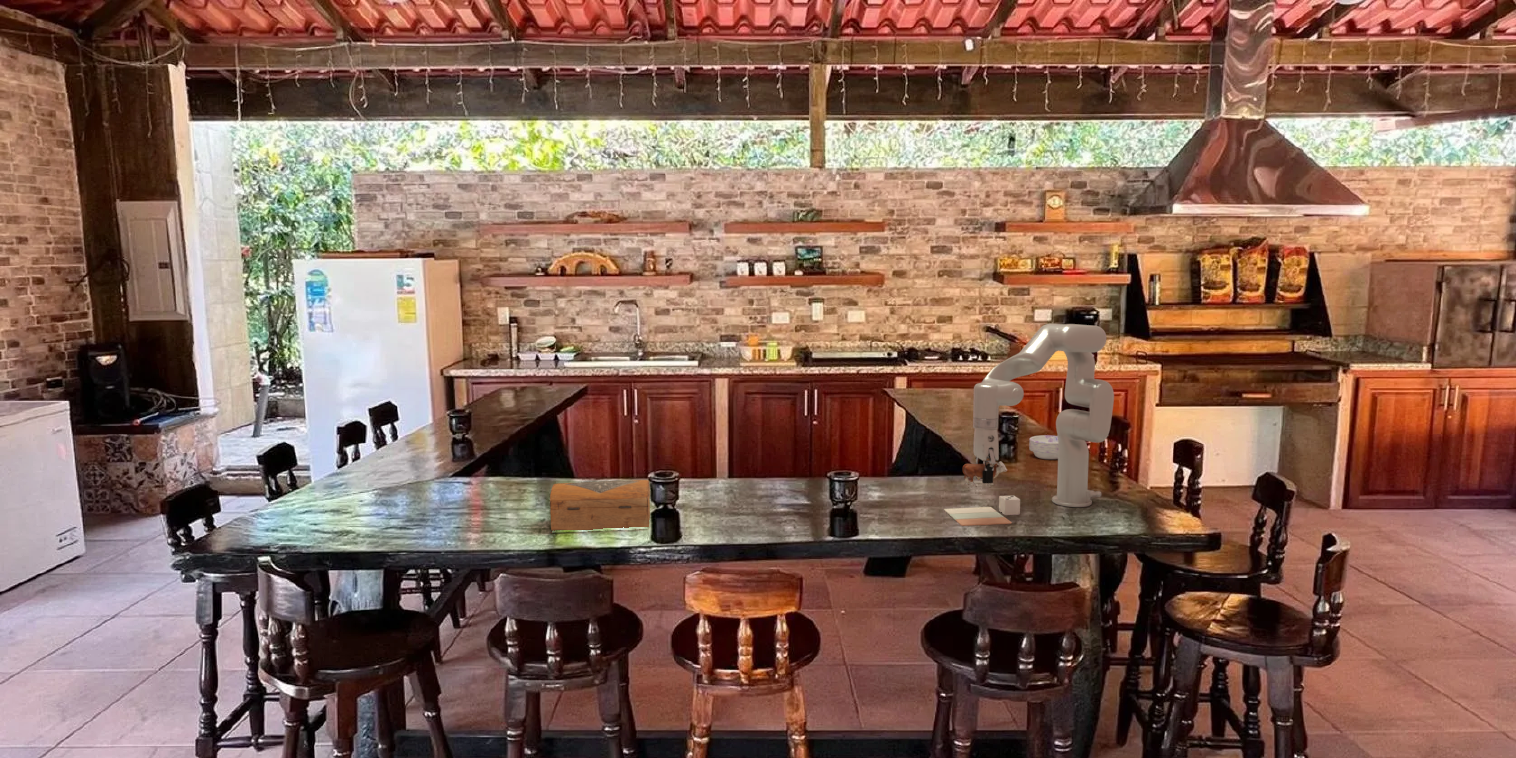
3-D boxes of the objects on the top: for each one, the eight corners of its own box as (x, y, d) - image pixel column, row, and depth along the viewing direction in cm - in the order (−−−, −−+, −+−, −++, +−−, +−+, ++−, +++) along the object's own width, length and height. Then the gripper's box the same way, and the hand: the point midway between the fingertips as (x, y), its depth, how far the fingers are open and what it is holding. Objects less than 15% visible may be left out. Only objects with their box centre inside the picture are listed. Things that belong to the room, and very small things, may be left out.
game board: (990, 508, 289) (990, 506, 289) (1011, 523, 272) (1011, 522, 272) (943, 510, 288) (943, 508, 288) (961, 525, 270) (961, 524, 270)
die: (1013, 510, 287) (1014, 495, 286) (1019, 514, 282) (1020, 499, 281) (998, 511, 286) (999, 495, 285) (1004, 515, 281) (1005, 500, 281)
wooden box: (651, 515, 286) (650, 474, 284) (649, 531, 270) (647, 487, 268) (558, 519, 284) (556, 477, 282) (550, 534, 268) (548, 490, 266)
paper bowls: (1022, 458, 362) (1023, 439, 361) (1037, 451, 373) (1038, 433, 372) (1059, 463, 352) (1059, 443, 351) (1073, 456, 364) (1073, 437, 363)
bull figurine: (1007, 489, 269) (1007, 463, 268) (962, 487, 271) (962, 461, 270) (1005, 485, 273) (1006, 459, 272) (961, 483, 276) (962, 458, 274)
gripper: (1008, 427, 262) (1006, 487, 264) (987, 418, 278) (985, 473, 281) (983, 428, 261) (982, 488, 263) (964, 418, 278) (963, 474, 280)
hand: (984, 480), depth 272 cm, fingers closed on bull figurine, 4 cm apart
